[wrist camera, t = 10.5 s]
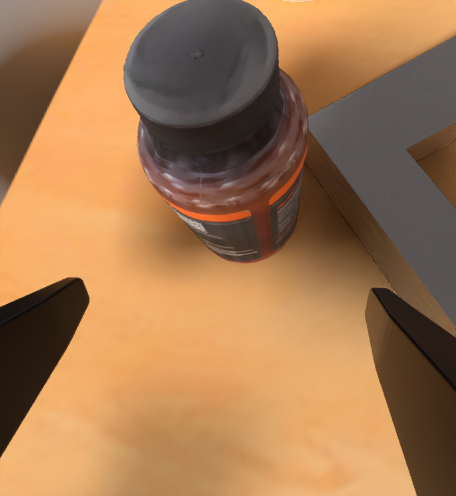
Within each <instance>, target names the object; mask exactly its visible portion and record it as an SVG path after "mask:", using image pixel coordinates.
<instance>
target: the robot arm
mask: <svg viewBox="0 0 456 496" xmlns="http://www.w3.org/2000/svg"><path fill="white" fill-rule="evenodd" d="M88 304H89V295H88V292H87V290H86V287H85V285H84V282H83V280H82V279H81V278H77V277H68V278H65V279H63V280H61V281H58V282H56V283H54V284H51V285H49V286H47V287H45V288H42V289H40V290H38V291H35V292H33V293H31V294H29V295H26V296H24V297H22V298H19V299H17V300H15V301H13V302H10V303H8V304H6V305H4V306H1V307H0V458H1V456H2V454H3V453H4V451H5V449H6V448H7V446H8V445H9V443H10V441H11V440H12V438H13V436H14V435H15V433H16V431H17V430H18V428H19V426H20V425H21V423H22V421H23V420H24V418H25V417H26V415H27V413H28V412H29V410H30V408H31V407H32V405H33V403H34V402H35V400H36V398H37V397H38V395H39V393H40V392H41V390H42V388H43V387H44V385H45V384H46V382H47V380H48V379H49V377H50V375H51V374H52V372H53V370H54V369H55V367H56V365H57V364H58V362H59V360H60V359H61V357H62V356H63V354H64V352H65V351H66V349H67V347H68V345H69V344H70V342H71V340H72V338H73V336H74V334H75V332H76V329H77V327H78V325H79V323H80V321H81V319H82V317H83V315H84V313H85V311H86V309H87V307H88ZM365 317H366V323H367V328H368V333H369V338H370V343H371V348H372V353H373V358H374V363H375V368H376V371H377V375H378V378H379V381H380V384H381V387H382V390H383V393H384V396H385V399H386V402H387V405H388V408H389V412H390V415H391V418H392V421H393V424H394V427H395V430H396V433H397V436H398V439H399V442H400V445H401V448H402V451H403V454H404V457H405V461H406V464H407V467H408V470H409V473H410V476H411V479H412V482H413V485H414V488H415V491H416V494H417V496H456V337H455V336H453V335H452V334H450V333H449V332H448V331H446V330H445V329H443V328H442V327H441V326H439V325H438V324H436V323H435V322H434V321H432V320H431V319H429V318H428V317H427V316H425V315H424V314H422V313H421V312H420V311H418V310H417V309H415V308H414V307H413V306H411V305H410V304H408V303H407V302H406V301H404V300H403V299H401V298H400V297H399V296H397V295H396V294H394V293H393V292H392V291H390V290H389V289H386V288H372V289H371V290H370V292H369V296H368V301H367V306H366V311H365Z"/></svg>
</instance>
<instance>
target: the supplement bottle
mask: <svg viewBox="0 0 456 496" xmlns="http://www.w3.org/2000/svg"><path fill="white" fill-rule="evenodd" d="M278 63H279V61H278V41H277V37H276V34H275V31H274V29H273V27H272V25H271V23H270V22H269V20H268V19H267V17H266V16H265V15H263V13H262V12H261V11H260V10H259V9H258V8H256V7H254V6H253V5H251V4H249V3H247V2H244V1H242V0H187V1H184V2H181V3H179V4H176V5H174V6H172V7H170V8H168V9H167V10H165V11H164V12H162V13H161V14H159V15H158V16H156V17H154V18H153V19H152V20H151V21H150V22H149V23H148V24H147V25H146V26H145V27H144V28H143V29H142V30H141V31H140V33H139V34H138V35H137V36H136V38H135V40H134V42H133V43H132V45H131V47H130V50H129V52H128V55H127V58H126V63H125V65H124V69H123V70H124V85H125V90H126V92H127V95H128V97H129V99H130V101H131V103H132V105H133V107H134V108H135V110H136V111H137V112H138V114H139V115H140V122H139V126H138V136H137V140H138V141H137V147H138V154H139V158H140V161H141V164H142V167H143V169H144V172H145V174H146V175H147V177H148V179H149V180H150V182H151V183H152V185H153V186H154V188H155V189H156V190H157V191H158V192H159V194H160V195H161V196H162V197H163V198H164V199H165V201H166V202H167V203H168V204H169V205H170V206H171V208H172V209H173V210H174V211H175V212H176V213H177V214H178V215H179V216H180V218H181V219H183V220H184V222H185V223H186V224H187V225H188V226H189V227H190V229H191V230H192V231H193V232H194V233H195V234H196V235H197V236H198V237H199V238H200V239H201V241H202V242H203V243H204V244H205V245H206V246H207V247H208V248H209V249H210V250H212V251H213V252H214V253H215V254H217V255H218V256H220V257H222V258H224V259H226V260H229V261H232V262H236V263H252V262H257V261H260V260H263V259H266V258H268V257H270V256H272V255H273V254H275V253H276V252H278V251H279V250H280V249H281V248H282V247H283V246H284V245H285V243H286V242H287V241H288V239H289V238H290V236H291V234H292V232H293V229H294V226H295V222H296V219H297V212H298V205H299V199H300V192H301V185H302V178H303V172H304V166H305V158H306V151H307V144H308V134H309V123H308V115H307V110H306V106H305V103H304V101H303V98H302V95H301V93H300V91H299V89H298V87H297V86H296V85H295V83H294V81H293V80H292V79H291V78H290V77H289V76H288V75H287V74H286V73H285V72H284V71H282V69H280V68H279V66H278Z"/></svg>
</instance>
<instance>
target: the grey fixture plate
mask: <svg viewBox="0 0 456 496" xmlns="http://www.w3.org/2000/svg"><path fill="white" fill-rule="evenodd" d="M308 123H309V134H308V144H307V151H306V158H305V163H306V164H307V165H308V167H309V168H310V170H311V171H312V173H313V174H314V175H315V177H316V178H317V180H318V181H319V183H320V184H321V185H322V187H323V188H324V190H325V191H326V192H327V194H328V195H329V197H330V198H331V200H332V201H333V202H334V204H335V205H336V207H337V208H338V210H339V211H340V212H341V214H342V215H343V217H344V218H345V220H346V221H347V222H348V224H349V225H350V227H351V228H352V230H353V231H354V232H355V234H356V235H357V237H358V238H359V240H360V241H361V242H362V244H363V245H364V247H365V248H366V249H367V251H368V252H369V254H370V255H371V257H372V258H373V259H374V261H375V262H376V264H377V265H378V267H379V268H380V269H381V271H382V272H383V274H384V275H385V277H386V278H387V279H388V281H389V282H390V284H391V285H392V287H393V288H394V289H395V291H396V292H397V294H398V295H399V296H400V298H401V299H403V300H404V301H406V302H407V303H408V304H410V305H411V306H413V307H414V308H415V309H417V310H418V311H420V312H421V313H422V314H424V315H425V316H427V317H428V318H429V319H431V320H432V321H434V322H435V323H436V324H438V325H439V326H441V327H442V328H443V329H445V330H446V331H448V332H449V333H450V334H452V335H453V336H455V337H456V208H455V207H454V206H453V205H452V203H451V202H450V201H449V200H448V199H447V197H446V196H445V195H444V194H443V193H442V192H441V190H440V189H439V188H438V187H437V186H436V185H435V183H434V182H433V181H432V180H431V179H430V178H429V176H428V175H427V174H426V173H425V172H424V171H423V169H422V168H421V167H420V166H419V165H418V164H417V162H416V161H418V160H420V159H422V158H424V157H426V156H427V155H429V154H431V153H433V152H435V151H437V150H439V149H440V148H442V147H444V146H446V145H448V144H450V143H452V142H453V141H455V140H456V36H455V37H453V38H451V39H449V40H447V41H446V42H444V43H442V44H440V45H438V46H436V47H435V48H433V49H431V50H429V51H427V52H426V53H424V54H422V55H420V56H418V57H416V58H415V59H413V60H411V61H409V62H407V63H405V64H404V65H402V66H400V67H398V68H396V69H394V70H393V71H391V72H389V73H387V74H385V75H383V76H382V77H380V78H378V79H376V80H374V81H372V82H371V83H369V84H367V85H365V86H363V87H362V88H360V89H358V90H356V91H354V92H352V93H351V94H349V95H347V96H345V97H343V98H341V99H340V100H338V101H336V102H334V103H332V104H330V105H329V106H327V107H325V108H323V109H321V110H319V111H318V112H316V113H314V114H312V115H310V116H309V117H308Z"/></svg>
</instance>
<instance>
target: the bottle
mask: <svg viewBox="0 0 456 496" xmlns="http://www.w3.org/2000/svg"><path fill="white" fill-rule="evenodd" d="M283 1H289V2H306V1H314V0H283Z"/></svg>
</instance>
